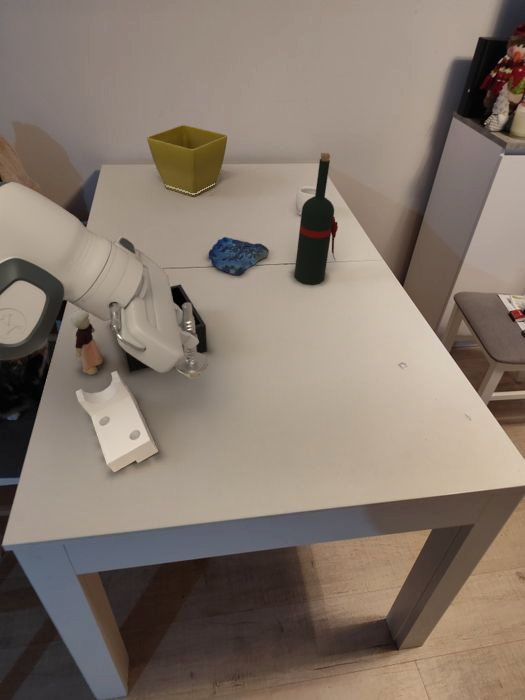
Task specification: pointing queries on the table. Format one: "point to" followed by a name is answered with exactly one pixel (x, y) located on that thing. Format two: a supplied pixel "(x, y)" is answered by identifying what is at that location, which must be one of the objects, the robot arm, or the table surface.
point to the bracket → (118, 424)
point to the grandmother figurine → (86, 342)
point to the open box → (200, 328)
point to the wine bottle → (316, 231)
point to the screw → (192, 359)
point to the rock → (236, 255)
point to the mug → (304, 196)
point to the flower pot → (188, 157)
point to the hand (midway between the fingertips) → (193, 335)
